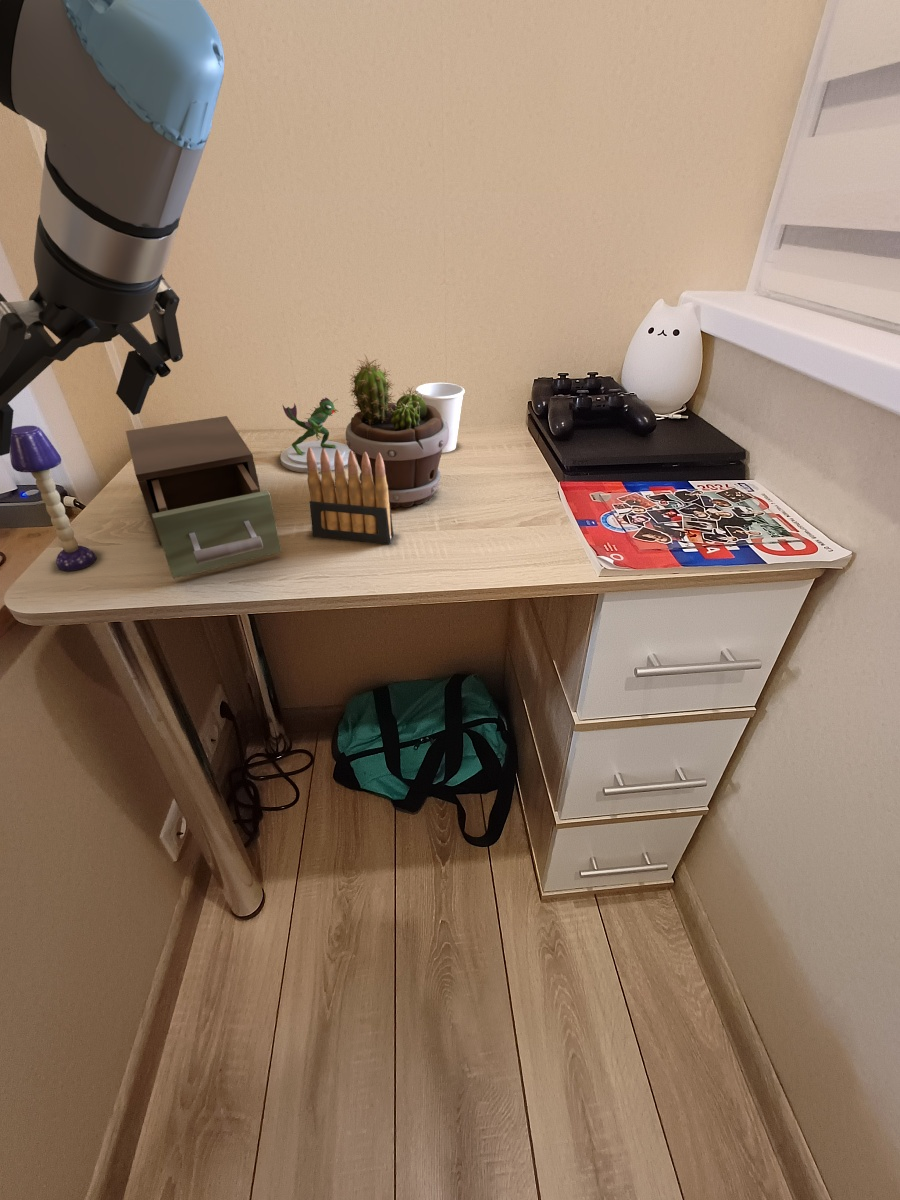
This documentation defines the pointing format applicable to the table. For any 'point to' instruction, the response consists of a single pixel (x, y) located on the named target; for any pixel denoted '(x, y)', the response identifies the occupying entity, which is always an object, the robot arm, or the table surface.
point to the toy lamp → (48, 491)
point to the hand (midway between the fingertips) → (66, 421)
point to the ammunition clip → (349, 500)
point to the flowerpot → (397, 436)
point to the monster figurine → (297, 453)
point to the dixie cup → (445, 406)
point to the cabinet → (185, 452)
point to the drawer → (213, 519)
